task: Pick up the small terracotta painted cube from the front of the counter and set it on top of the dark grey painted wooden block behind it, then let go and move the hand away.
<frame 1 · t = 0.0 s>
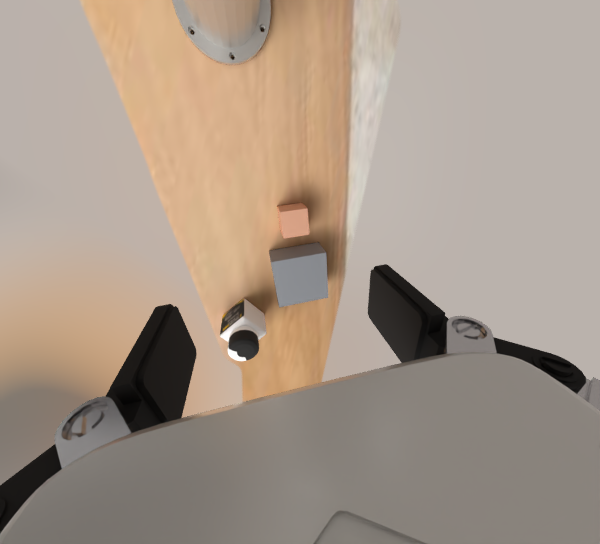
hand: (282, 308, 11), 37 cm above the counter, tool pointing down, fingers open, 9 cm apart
medicine bottle: (244, 314, 56), on the counter
grey block: (296, 267, 53), on the counter
terracotta cube: (290, 216, 47), on the counter
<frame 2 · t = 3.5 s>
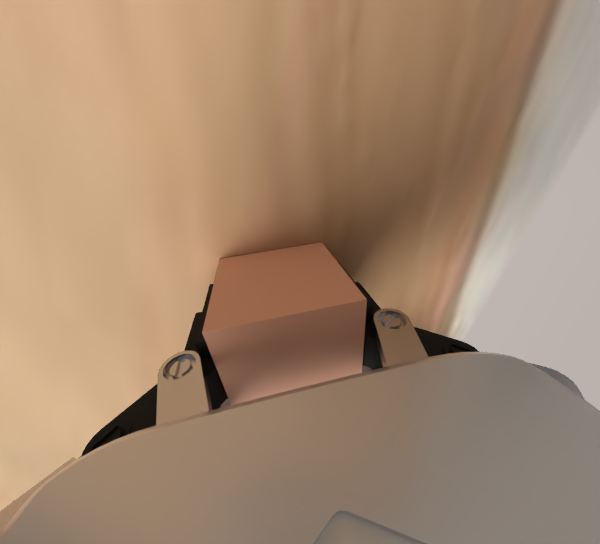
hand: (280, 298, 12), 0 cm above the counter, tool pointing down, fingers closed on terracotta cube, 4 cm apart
terracotta cube: (279, 292, 12), on the counter, touching gripper
when the fingers open (7 cm above the counter, at t = 8.7 s): terracotta cube drops 1 cm, resting on grey block.
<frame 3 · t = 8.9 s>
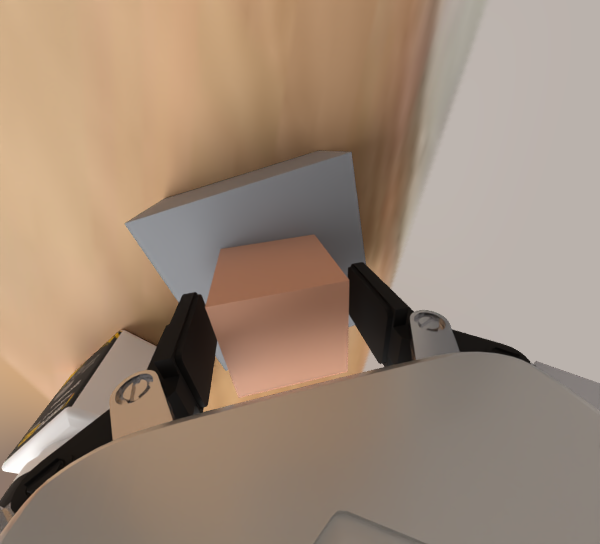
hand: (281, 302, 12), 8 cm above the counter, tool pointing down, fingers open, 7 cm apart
medicine bottle: (137, 366, 22), on the counter
grey block: (268, 244, 19), on the counter, touching terracotta cube
terracotta cube: (275, 281, 13), point 6 cm above the counter, touching grey block
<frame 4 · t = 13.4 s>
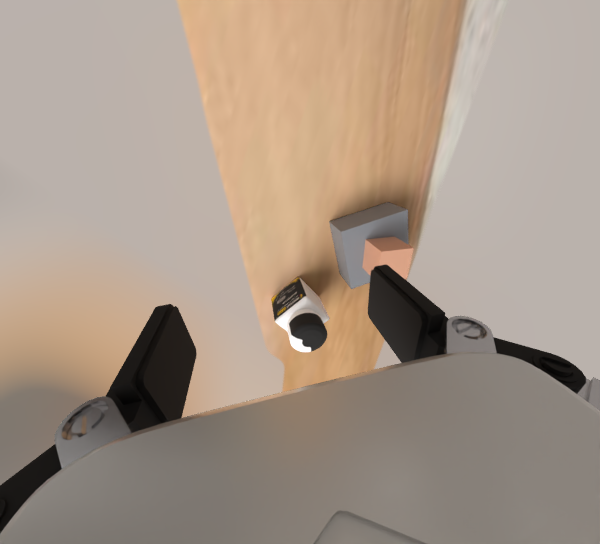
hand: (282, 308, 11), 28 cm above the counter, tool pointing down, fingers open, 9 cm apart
medicine bottle: (295, 297, 46), on the counter
grey block: (361, 239, 43), on the counter
terracotta cube: (378, 252, 38), point 6 cm above the counter
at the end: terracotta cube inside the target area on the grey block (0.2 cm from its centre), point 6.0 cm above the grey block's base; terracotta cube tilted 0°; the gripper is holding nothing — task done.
